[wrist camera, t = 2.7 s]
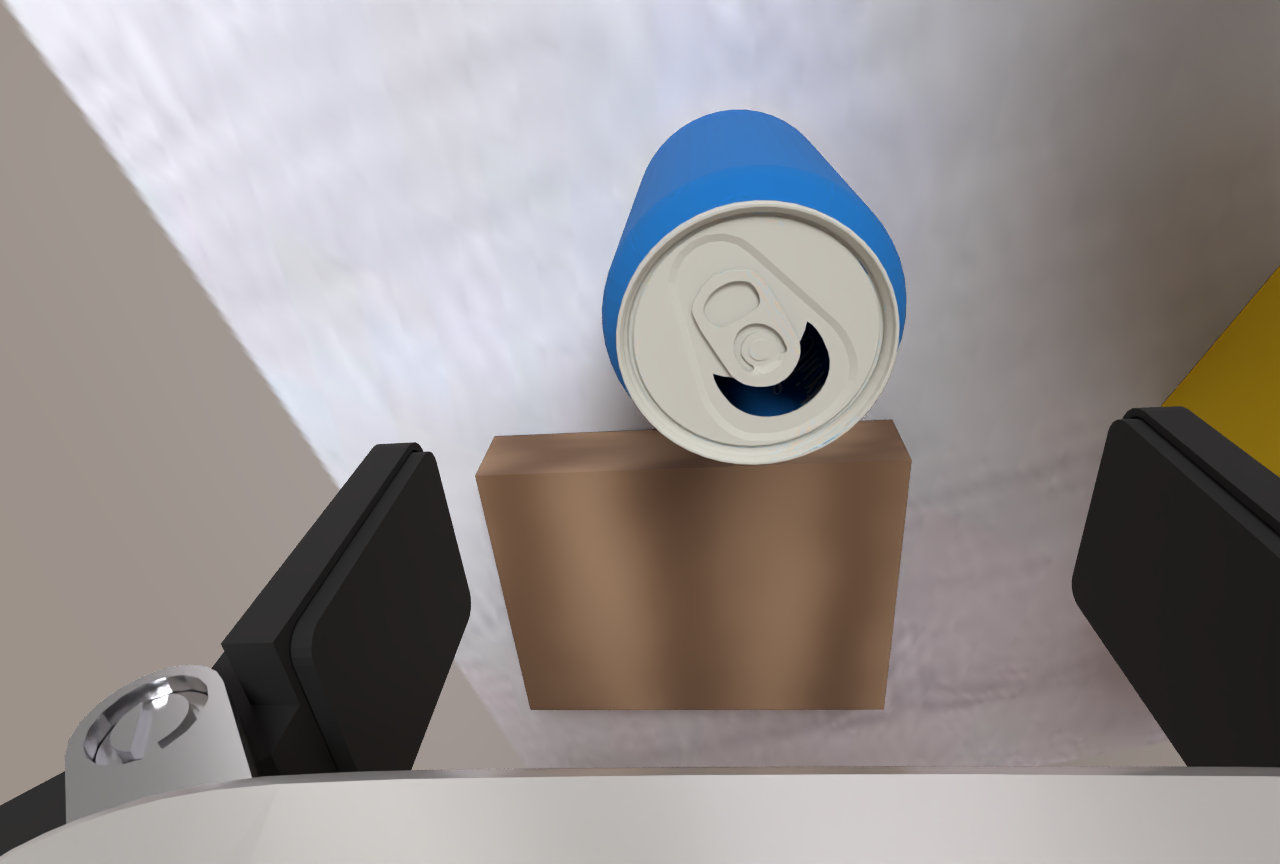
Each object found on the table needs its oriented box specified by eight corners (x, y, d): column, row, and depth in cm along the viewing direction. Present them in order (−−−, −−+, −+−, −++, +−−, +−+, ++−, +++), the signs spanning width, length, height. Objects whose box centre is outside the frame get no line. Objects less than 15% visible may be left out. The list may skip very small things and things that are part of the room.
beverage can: (700, 331, 27) (701, 525, 17) (601, 181, 25) (529, 298, 14) (860, 237, 25) (975, 393, 15) (769, 63, 23) (829, 100, 12)
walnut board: (892, 419, 28) (911, 460, 26) (870, 657, 35) (883, 709, 32) (494, 436, 30) (475, 475, 27) (542, 660, 36) (530, 709, 34)
